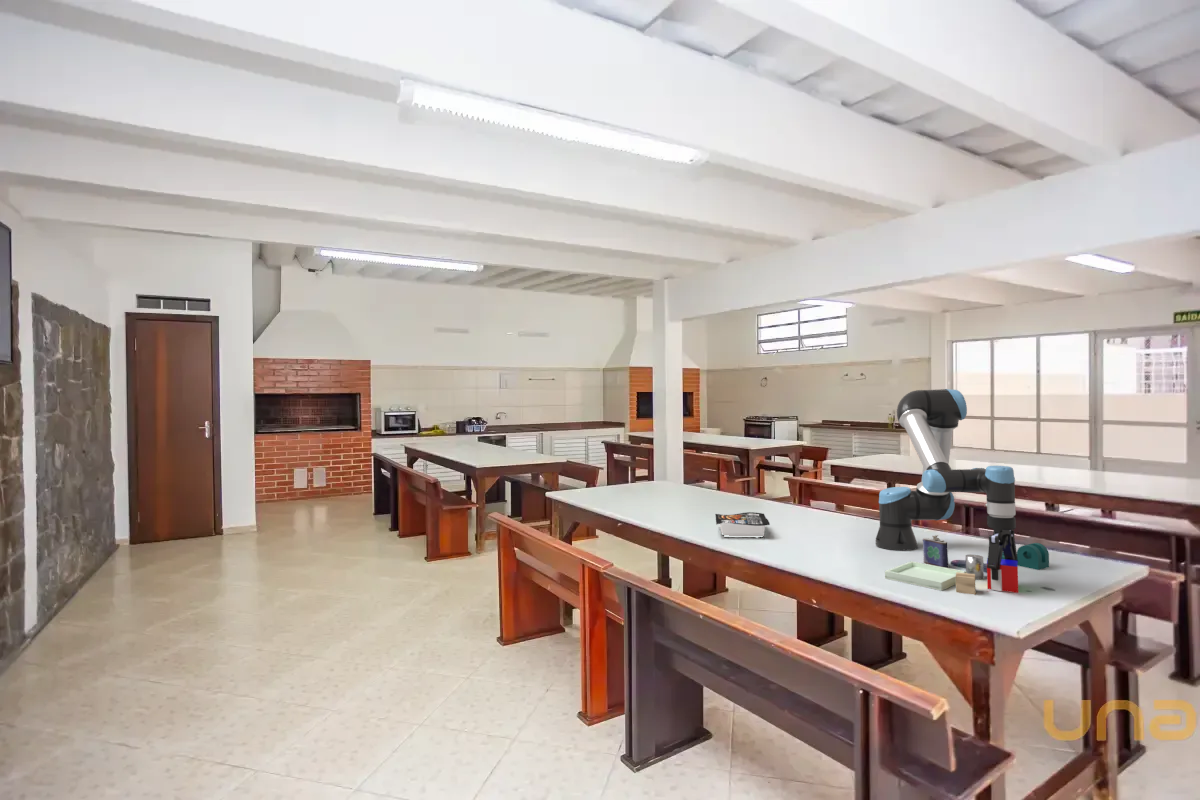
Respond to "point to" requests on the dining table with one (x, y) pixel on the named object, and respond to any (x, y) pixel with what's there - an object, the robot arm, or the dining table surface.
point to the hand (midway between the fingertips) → (1003, 586)
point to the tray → (923, 575)
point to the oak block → (965, 583)
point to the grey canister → (975, 566)
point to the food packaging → (742, 524)
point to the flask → (935, 552)
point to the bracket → (1032, 556)
